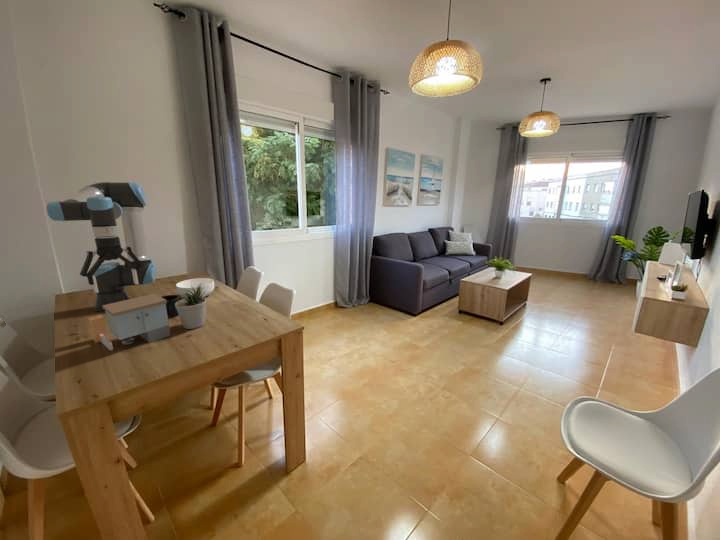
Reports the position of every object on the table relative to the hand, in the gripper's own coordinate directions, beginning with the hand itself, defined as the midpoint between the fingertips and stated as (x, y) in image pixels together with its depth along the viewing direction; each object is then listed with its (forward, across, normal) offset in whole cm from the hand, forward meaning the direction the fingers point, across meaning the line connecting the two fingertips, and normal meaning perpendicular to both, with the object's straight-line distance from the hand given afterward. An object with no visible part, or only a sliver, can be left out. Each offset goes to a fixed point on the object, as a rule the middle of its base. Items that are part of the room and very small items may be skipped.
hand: (117, 287), depth 123 cm
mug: (+21, +20, +6) cm, 30 cm away
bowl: (+21, +43, +24) cm, 53 cm away
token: (+21, -3, -9) cm, 23 cm away
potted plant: (+21, +21, -16) cm, 34 cm away
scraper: (+21, -8, -3) cm, 23 cm away
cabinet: (+21, +2, -11) cm, 24 cm away
